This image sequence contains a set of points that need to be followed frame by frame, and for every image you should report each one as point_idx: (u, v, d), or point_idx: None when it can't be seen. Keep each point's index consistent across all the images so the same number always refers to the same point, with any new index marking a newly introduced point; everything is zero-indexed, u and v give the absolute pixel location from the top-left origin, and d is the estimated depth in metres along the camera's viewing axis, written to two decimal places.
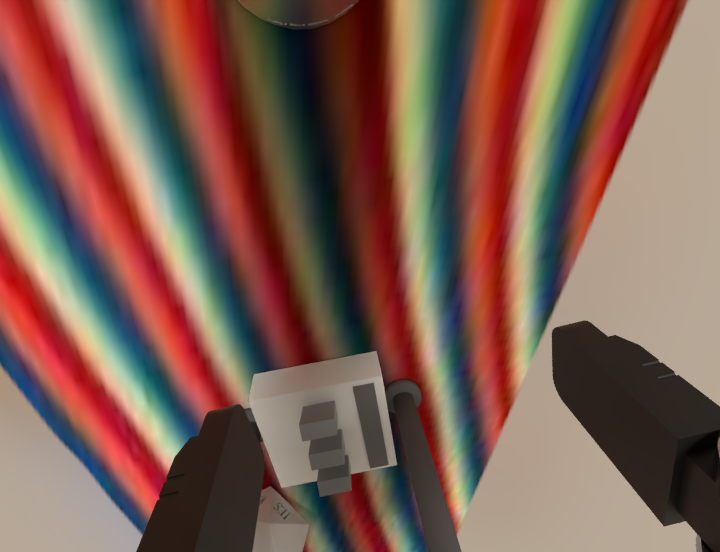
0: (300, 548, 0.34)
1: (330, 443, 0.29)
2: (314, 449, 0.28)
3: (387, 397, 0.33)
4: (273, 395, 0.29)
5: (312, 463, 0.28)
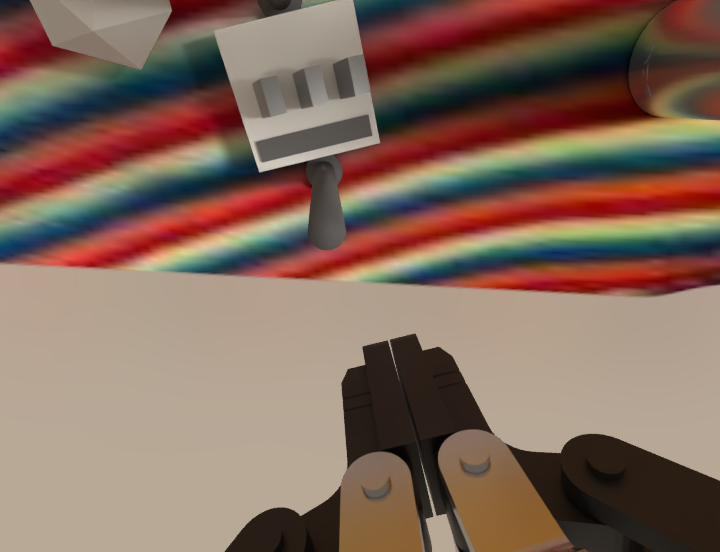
0: (124, 53, 0.26)
1: None
2: None
3: None
4: (357, 26, 0.28)
5: (311, 69, 0.26)
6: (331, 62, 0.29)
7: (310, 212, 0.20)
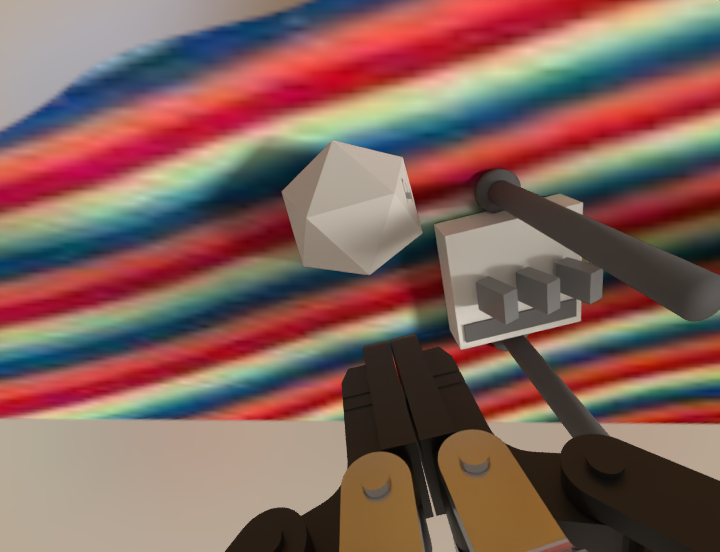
0: None
1: None
2: None
3: None
4: None
5: (553, 283, 0.27)
6: (550, 257, 0.29)
7: None
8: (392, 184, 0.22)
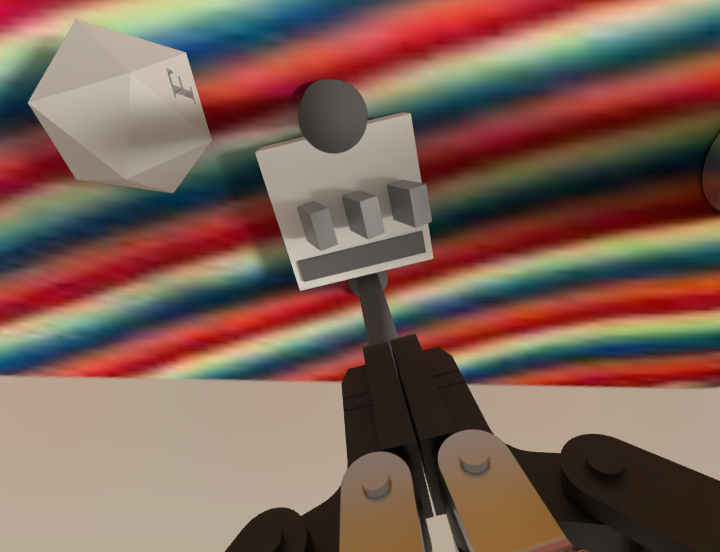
0: (157, 186, 0.23)
1: None
2: None
3: None
4: None
5: (368, 201, 0.23)
6: (384, 180, 0.26)
7: None
8: (136, 66, 0.19)
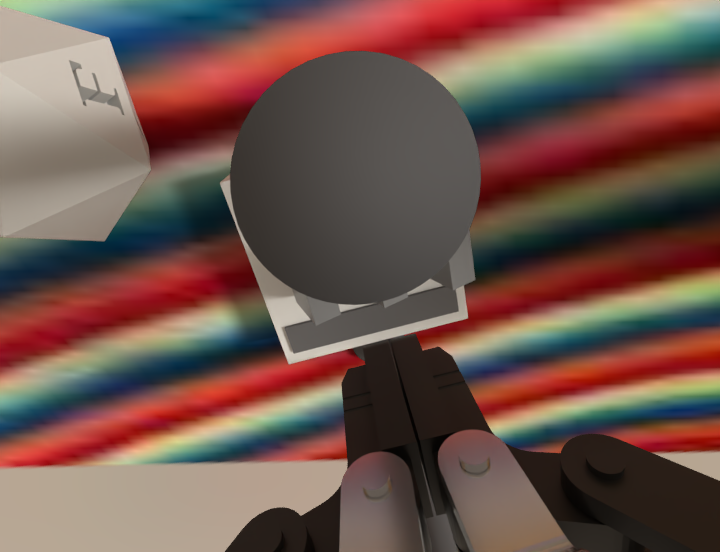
0: (72, 237, 0.16)
1: None
2: None
3: None
4: None
5: None
6: None
7: None
8: (7, 55, 0.11)
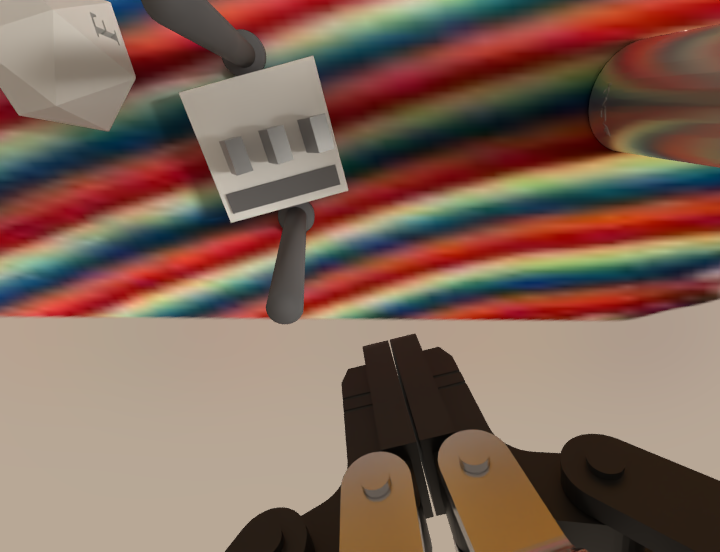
0: (90, 120, 0.27)
1: None
2: None
3: None
4: (320, 83, 0.29)
5: (275, 129, 0.27)
6: (296, 117, 0.30)
7: (271, 283, 0.21)
8: (59, 6, 0.23)
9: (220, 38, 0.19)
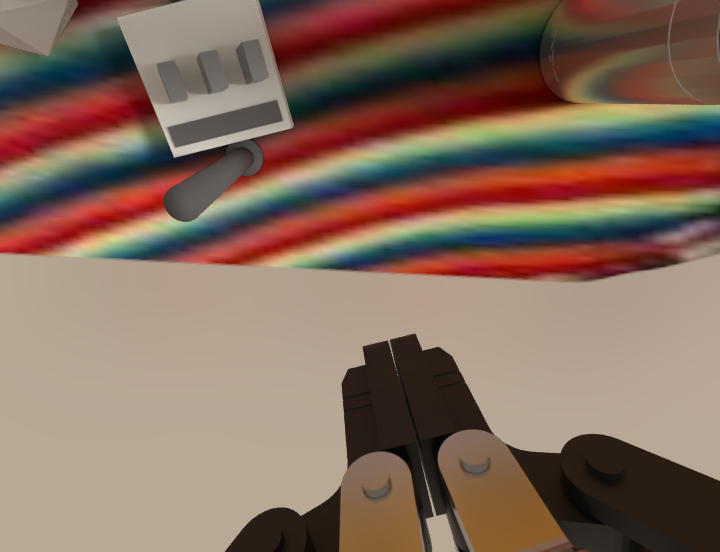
0: (24, 39, 0.27)
1: None
2: None
3: (245, 141, 0.35)
4: (259, 13, 0.29)
5: (207, 54, 0.27)
6: (236, 48, 0.30)
7: None
8: None
9: None
